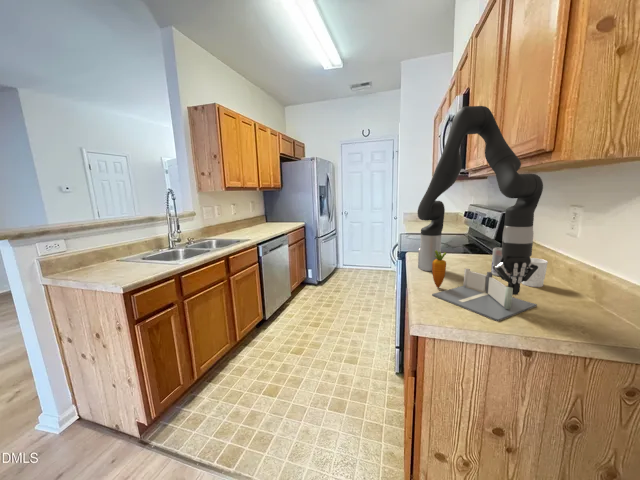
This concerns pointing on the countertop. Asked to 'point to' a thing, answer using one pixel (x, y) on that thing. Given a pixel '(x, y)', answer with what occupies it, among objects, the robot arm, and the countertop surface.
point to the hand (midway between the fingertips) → (513, 293)
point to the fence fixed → (476, 280)
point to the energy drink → (496, 259)
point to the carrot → (438, 269)
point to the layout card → (482, 302)
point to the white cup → (537, 273)
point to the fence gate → (500, 292)
